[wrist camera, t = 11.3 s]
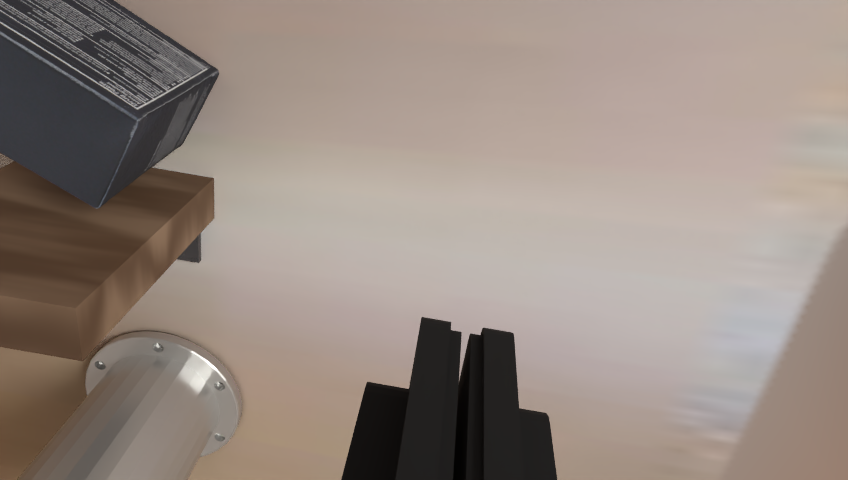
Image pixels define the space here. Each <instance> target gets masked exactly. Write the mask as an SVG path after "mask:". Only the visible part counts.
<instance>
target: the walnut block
mask: <svg viewBox="0 0 848 480" xmlns="http://www.w3.org/2000/svg"><path fill="white" fill-rule="evenodd" d="M213 219H214V178H209V177H203V176H197V175H191V174H185V173H180V172H174V171H168V170H162V169H156V168H150V169H149V170H147V171H146V172H145V173H143V174H142V175H141V176H139V177H138V178H137V179H136V180H134V181H133V182H132V183H130V184H129V185H128V186H127V187H125V188H124V189H123V190H121V191H120V192H119V193H118V194H116V195H115V196H114V197H112V198H111V199H109V200H108V201H107V202H106V203H105V204H104V205H102V206H101V207H100V208H98V209H96V208H94V207H92V206H90V205H89V204H87V203H85V202H84V201H82V200H80V199H79V198H77V197H75V196H74V195H72V194H70V193H68V192H67V191H65V190H63V189H62V188H60V187H58V186H57V185H55V184H53V183H51V182H50V181H48V180H46V179H45V178H43V177H41V176H39V175H38V174H36V173H34V172H33V171H31V170H29V169H27V168H26V167H24V166H22V165H21V164H19V163H17V162H15V161H14V162H12V163H10V164H8V165H6V166H4V167H2V168H0V347H5V348H10V349H16V350H22V351H28V352H33V353H39V354H45V355H50V356H56V357H62V358H68V359H73V360H79V361H83V360H84V359H85V358H86V357H87V356H88V355H89V354H90V353H91V351H92V350H93V349H94V348H95V347H96V346H97V345H98V344H99V343H100V342H101V341H102V339H103V338H104V337H105V336H106V335H107V334H108V333H109V332H110V331H111V330H112V329H113V328H114V326H115V325H116V324H117V323H118V322H119V321H120V320H121V319H122V318H123V317H124V316H125V314H126V313H127V312H128V311H129V310H130V309H131V308H132V307H133V306H134V305H135V304H136V303H137V301H138V300H139V299H140V298H141V297H142V296H143V295H144V294H145V293H146V292H147V291H148V289H149V288H150V287H151V286H152V285H153V284H154V283H155V282H156V281H157V280H158V279H159V278H160V276H161V275H162V274H163V273H164V272H165V271H166V270H167V269H168V268H169V267H170V266H171V264H172V263H173V262H174V261H175V260H176V259H177V258H178V257H179V256H180V255H181V254H182V253H183V251H184V250H185V249H186V248H187V247H188V246H189V245H190V244H191V243H192V242H193V241H194V239H195V238H196V237H197V236H198V235H199V234H200V233H201V232H202V231H203V230H204V229H205V227H206V226H207V225H208V224H209V223H210V222H211V221H212V220H213Z"/></svg>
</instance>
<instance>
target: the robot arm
mask: <svg viewBox="0 0 848 480" xmlns="http://www.w3.org/2000/svg"><path fill="white" fill-rule="evenodd" d="M460 350H461V332H458V331H452V330H451V322H447V321H442V320H436V319H430V318H424V317H422V318H421V324H420V330H419V335H418V341H417V347H416V352H415V358H414V364H413V369H412V375H411V381H410V387H409V389H405V388H399V387H394V386H388V385H382V384H376V383H371V382H367V384H366V387H365V391H364V394H363V398H362V402H361V406H360V410H359V414H358V418H357V421H356V425H355V429H354V433H353V437H352V441H351V445H350V449H349V452H348V456H347V460H346V464H345V468H344V472H343V476H342V480H557V475H556V468H555V460H554V452H553V444H552V436H551V429H550V422H549V417H548V415H547V414H546V413H543V412H537V411H531V410H525V409H520V408H519V401H518V387H517V373H516V358H515V344H514V334H513V333H511V332H505V331H499V330H494V329H488V328H483V329H482V332H481V335H476V334H470V336H469V340H468V344H467V349H466V353H465V358H464V362H463V367H462V371H461V376H460V380H459V367H460ZM458 384H459V385H458ZM85 387H86V394H87V397H86V398H85V399H84V401H83V402H82V403H81V404H80V405H79V406H78V408H77V409H76V410H75V411H74V412H73V414H72V415H71V416H70V417H69V418H68V420H67V421H66V422H65V423H64V424H63V425H62V427H61V428H60V429H59V430H58V431H57V433H56V434H55V435H54V436H53V437H52V438H51V440H50V441H49V442H48V443H47V444H46V446H45V447H44V448H43V449H42V450H41V451H40V453H39V454H38V455H37V456H36V457H35V459H34V460H33V461H32V462H31V463H30V465H29V466H28V467H27V468H26V469H25V470H24V472H23V473H22V474H21V475H20V476H19V478H18V479H17V480H188V478H189V476H190V474H191V472H192V470H193V469H194V467H195V465H196V463H197V461H198V459H199V457H202V456H206V455H209V454H211V453H213V452H215V451H217V450H219V449H220V448H222V447H223V446H224V445H225V444H227V442H228V441H229V440H230V439H231V437H232V436H233V435H234V433H235V431H236V429H237V427H238V425H239V422H240V418H241V415H242V401H241V396H240V392H239V389H238V387H237V385H236V383H235V380H234V379H233V377H232V376H231V374H230V373H229V372H228V370H227V369H226V368H225V366H224V365H223V364H222V363H221V362H220V361H219V360H218V359H217V358H216V357H214V356H213V355H212V354H210V353H209V352H208V351H206V350H205V349H203V348H202V347H200V346H198V345H196V344H194V343H193V342H191V341H189V340H186V339H183V338H181V337H178V336H175V335H171V334H166V333H162V332H151V331H141V332H132V333H128V334H124V335H121V336H118V337H116V338H114V339H113V340H111V341H109V342H107V343H106V344H105V345H104V346H103V347H102V348H101V349H100V350H99V351H98V352H97V353H96V355H95V356H94V357H93V358H92V359H91V361H90V363H89V366H88V368H87V371H86V377H85Z"/></svg>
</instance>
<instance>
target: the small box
mask: <svg viewBox="0 0 848 480" xmlns="http://www.w3.org/2000/svg"><path fill="white" fill-rule="evenodd" d="M218 75H219V71H218V70H217V69H216V68H215V67H213V66H211V65H210V64H208V63H207V62H206V61H204V60H203V59H201V58H200V57H198V56H197V55H195V54H194V53H192V52H191V51H189V50H188V49H186V48H185V47H183V46H182V45H180V44H179V43H177V42H176V41H174V40H173V39H171V38H170V37H168V36H166V35H165V34H163V33H162V32H161V31H159V30H158V29H156V28H155V27H153V26H151V25H150V24H148V23H147V22H145V21H144V20H142V19H141V18H139V17H138V16H136V15H135V14H133V13H132V12H130V11H129V10H127V9H126V8H124V7H123V6H121V5H120V4H118V3H117V2H115V1H114V0H0V153H2V154H3V155H5V156H7V157H9V158H10V159H12V160H14V161H15V162H17V163H19V164H21V165H22V166H24V167H26V168H27V169H29V170H31V171H33V172H34V173H36V174H38V175H39V176H41V177H43V178H45V179H46V180H48V181H50V182H51V183H53V184H55V185H57V186H58V187H60V188H62V189H63V190H65V191H67V192H68V193H70V194H72V195H74V196H75V197H77V198H79V199H80V200H82V201H84V202H85V203H87V204H89V205H90V206H92V207H94V208H96V209H98V208H100V207H101V206H102V205H104V204H105V203H106V202H107V201H108V200H109V199H111V198H112V197H114V196H115V195H116V194H118V193H119V192H120V191H121V190H123V189H124V188H125V187H127V186H128V185H129V184H130V183H132V182H133V181H134V180H136V179H137V178H138V177H139V176H141V175H142V174H143V173H145V172H146V171H147V170H149V169H150V168H151V167H153V166H154V165H155V164H157V163H158V162H159V161H161V160H162V159H163V158H165V157H166V156H167V155H168V154H170V153H171V152H172V151H174V150H175V149H176V148H178V147H180V146H181V145H182V144H183V143H184V141H185V139H186V137H187V135H188V133H189V131H190V130H191V128H192V126H193V124H194V122H195V120H196V118H197V116H198V114H199V112H200V110H201V109H202V107H203V105H204V103H205V101H206V99H207V97H208V95H209V93H210V91H211V89H212V87H213V85H214V83H215V81H216V79H217V78H218Z"/></svg>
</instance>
